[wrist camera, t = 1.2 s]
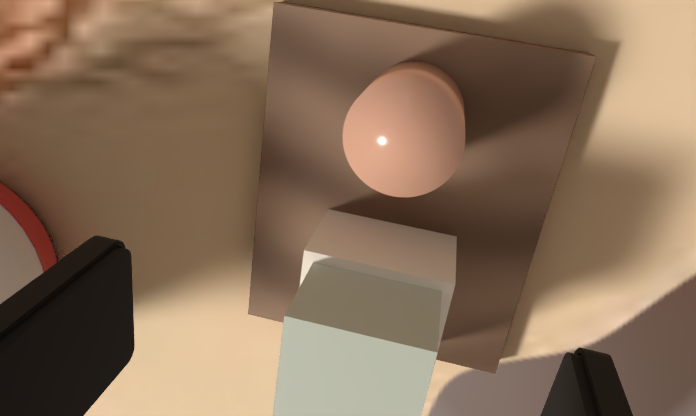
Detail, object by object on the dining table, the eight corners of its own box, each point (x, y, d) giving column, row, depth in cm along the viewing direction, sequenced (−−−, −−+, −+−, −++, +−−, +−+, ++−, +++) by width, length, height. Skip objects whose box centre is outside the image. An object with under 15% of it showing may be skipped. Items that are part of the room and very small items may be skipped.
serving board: (281, 1, 27) (273, 2, 26) (590, 53, 26) (596, 57, 24) (254, 303, 35) (248, 313, 33) (494, 360, 33) (495, 373, 32)
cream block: (328, 209, 30) (304, 250, 25) (456, 236, 29) (455, 283, 24) (313, 315, 33) (289, 369, 28) (429, 343, 32) (424, 403, 27)
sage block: (313, 261, 25) (284, 315, 21) (441, 291, 25) (437, 352, 21) (299, 364, 28) (270, 430, 24) (416, 393, 27) (407, 466, 23)
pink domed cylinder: (371, 52, 26) (351, 67, 22) (476, 71, 26) (478, 90, 21) (355, 151, 28) (335, 184, 24) (452, 170, 28) (450, 208, 23)
